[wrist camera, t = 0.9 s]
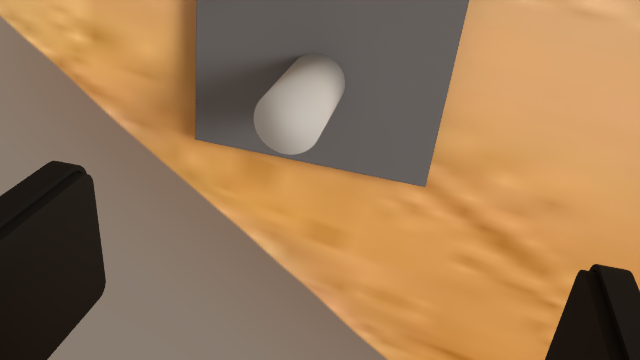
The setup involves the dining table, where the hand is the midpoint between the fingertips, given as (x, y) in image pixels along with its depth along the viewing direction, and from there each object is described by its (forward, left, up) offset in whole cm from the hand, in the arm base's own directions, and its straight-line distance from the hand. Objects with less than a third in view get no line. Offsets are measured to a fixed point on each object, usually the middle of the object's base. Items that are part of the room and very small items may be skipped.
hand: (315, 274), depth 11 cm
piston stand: (-1, -4, -22) cm, 23 cm away
